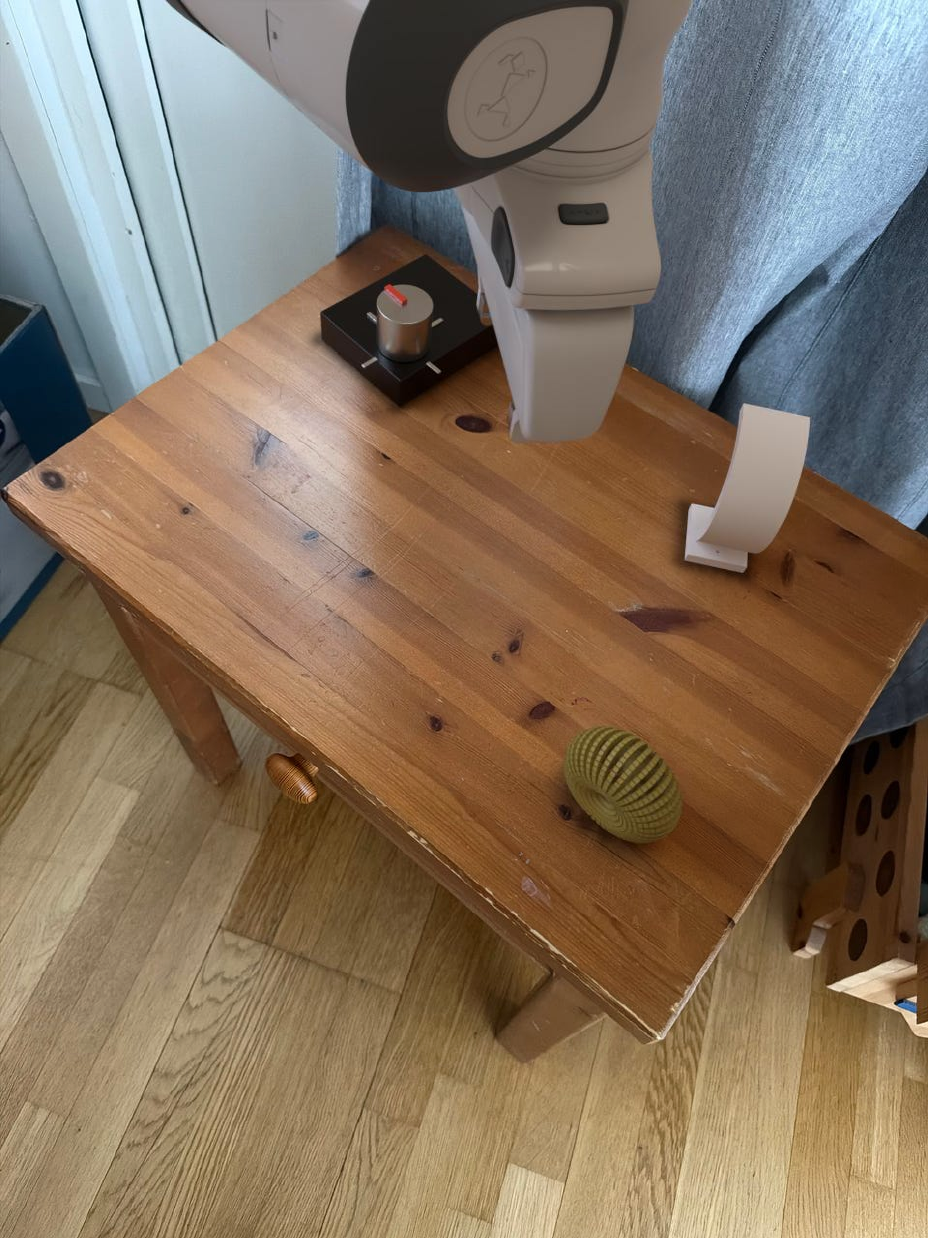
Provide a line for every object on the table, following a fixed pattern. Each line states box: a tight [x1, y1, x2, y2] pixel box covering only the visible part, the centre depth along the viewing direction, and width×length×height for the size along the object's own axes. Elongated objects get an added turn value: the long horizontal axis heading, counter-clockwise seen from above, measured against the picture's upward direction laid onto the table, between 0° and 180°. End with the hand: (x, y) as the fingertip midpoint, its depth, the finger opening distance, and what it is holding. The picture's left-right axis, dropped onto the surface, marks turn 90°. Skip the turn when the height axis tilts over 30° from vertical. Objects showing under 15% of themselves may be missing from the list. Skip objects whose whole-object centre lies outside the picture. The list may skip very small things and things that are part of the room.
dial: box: [376, 284, 433, 362], centre depth 71 cm, size 4×4×4 cm
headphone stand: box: [684, 402, 811, 574], centre depth 64 cm, size 5×6×12 cm
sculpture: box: [562, 725, 683, 844], centre depth 55 cm, size 8×4×8 cm, turn 46°
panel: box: [319, 253, 499, 408], centre depth 76 cm, size 13×11×3 cm
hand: (506, 372), depth 53 cm, fingers open, 8 cm apart
